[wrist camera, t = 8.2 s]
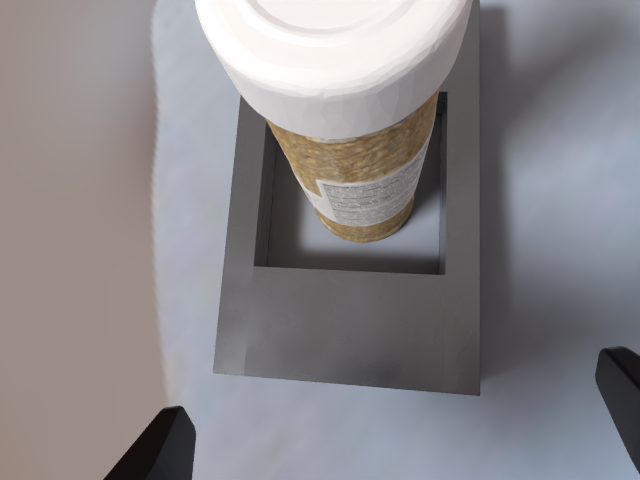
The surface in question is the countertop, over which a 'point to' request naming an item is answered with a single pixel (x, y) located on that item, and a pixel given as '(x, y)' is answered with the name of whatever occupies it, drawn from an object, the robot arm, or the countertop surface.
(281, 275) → the gray rectangular frame
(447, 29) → the sprinkles bottle
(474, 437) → the countertop surface
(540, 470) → the countertop surface
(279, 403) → the countertop surface
